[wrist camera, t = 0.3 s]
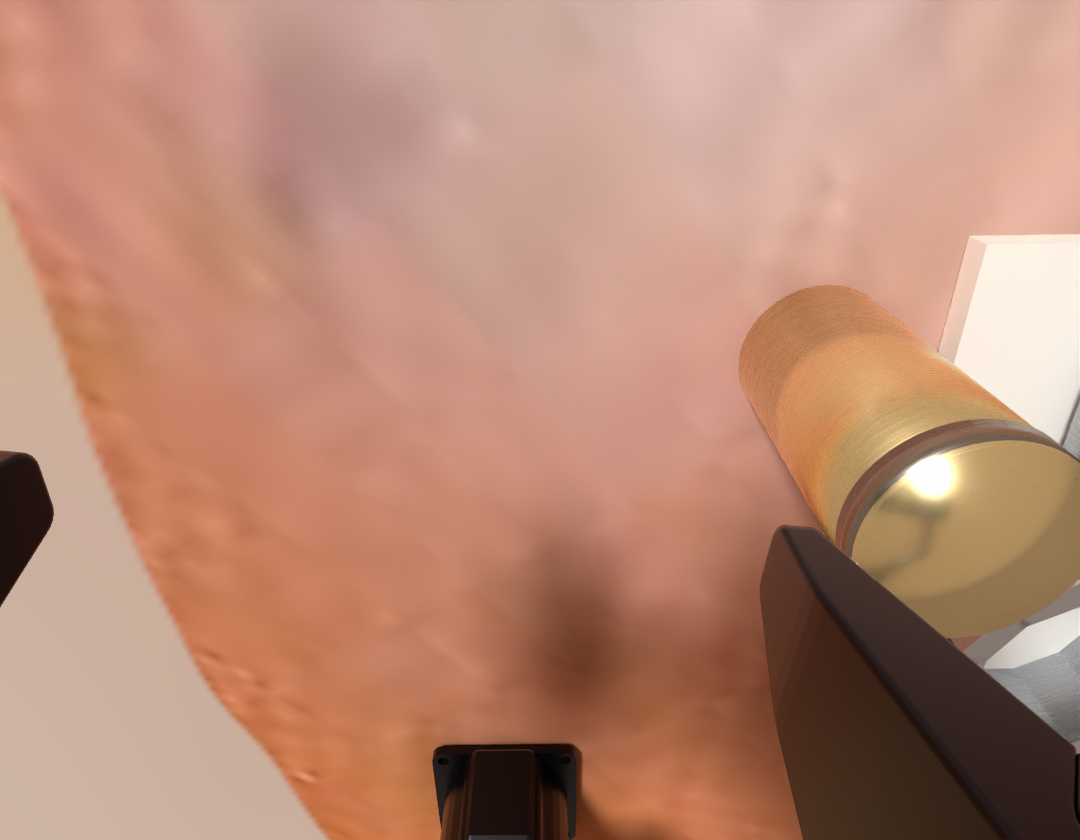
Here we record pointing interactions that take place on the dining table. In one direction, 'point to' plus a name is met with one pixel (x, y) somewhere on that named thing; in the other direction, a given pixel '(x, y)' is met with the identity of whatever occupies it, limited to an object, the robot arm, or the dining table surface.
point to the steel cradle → (1048, 683)
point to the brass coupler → (914, 463)
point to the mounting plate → (1022, 361)
